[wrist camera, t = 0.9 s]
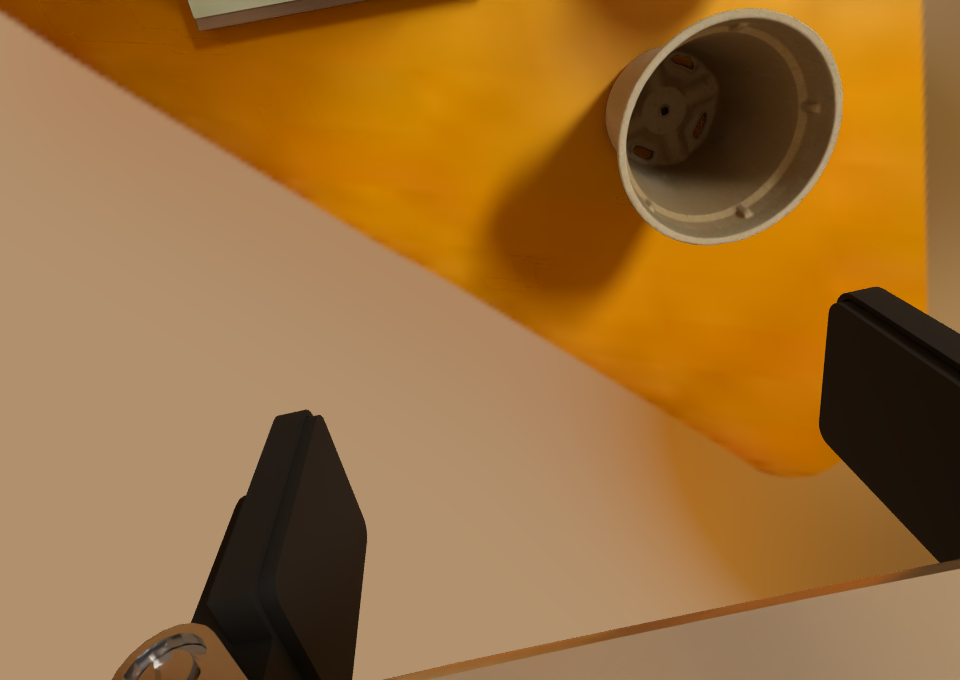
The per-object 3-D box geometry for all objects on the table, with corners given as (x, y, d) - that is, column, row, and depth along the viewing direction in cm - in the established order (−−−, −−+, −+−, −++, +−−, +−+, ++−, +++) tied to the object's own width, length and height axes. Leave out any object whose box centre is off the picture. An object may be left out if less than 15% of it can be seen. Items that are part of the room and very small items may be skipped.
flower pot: (573, 204, 35) (615, 256, 27) (572, 19, 30) (622, 20, 23) (733, 188, 35) (819, 235, 27) (756, 2, 31) (866, -3, 23)
